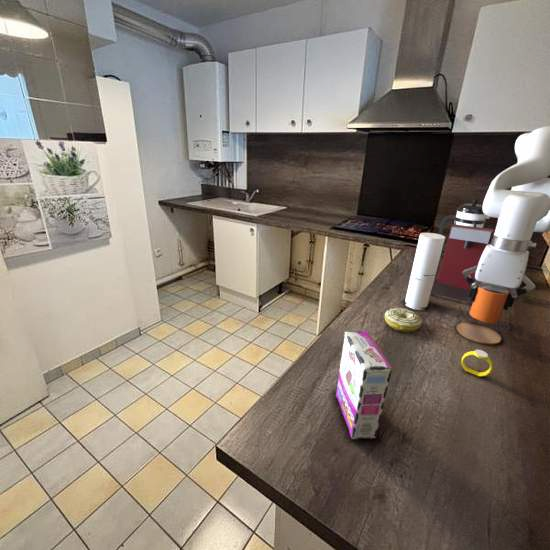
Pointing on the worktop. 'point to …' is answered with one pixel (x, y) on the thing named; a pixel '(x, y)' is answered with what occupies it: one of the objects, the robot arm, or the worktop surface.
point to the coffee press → (467, 216)
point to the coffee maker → (461, 260)
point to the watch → (480, 355)
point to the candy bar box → (362, 384)
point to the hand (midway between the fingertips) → (488, 303)
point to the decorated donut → (403, 320)
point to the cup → (489, 303)
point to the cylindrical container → (424, 270)
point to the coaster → (478, 333)
